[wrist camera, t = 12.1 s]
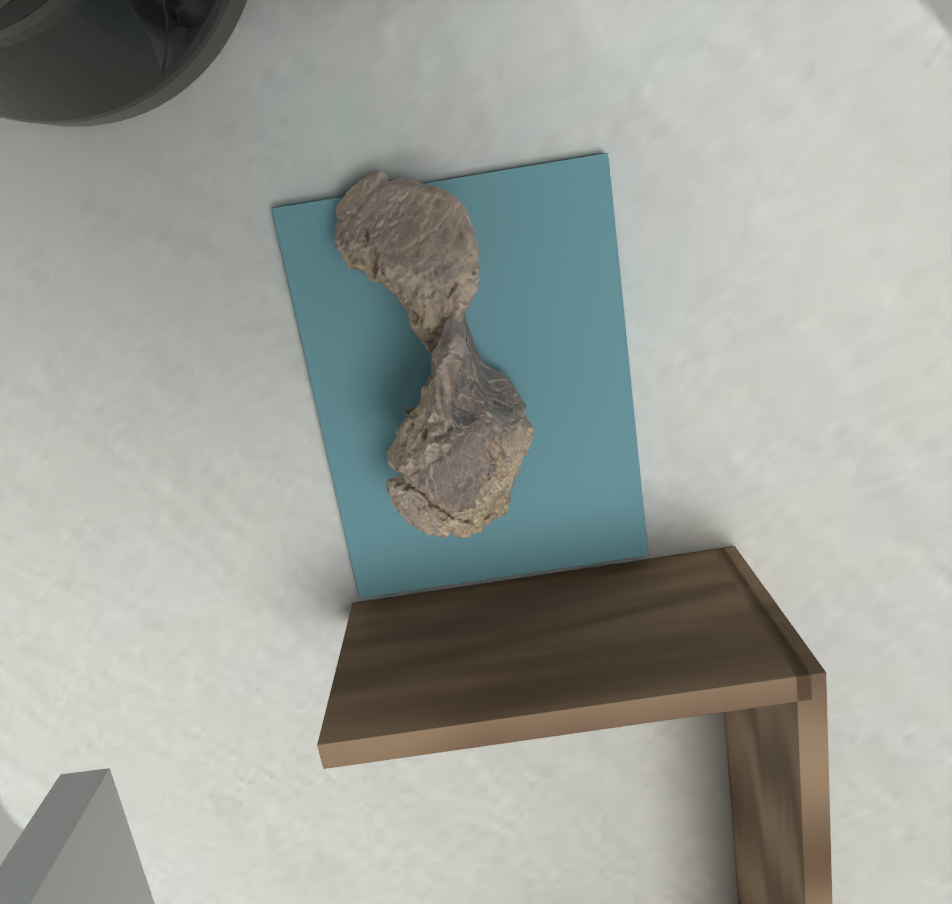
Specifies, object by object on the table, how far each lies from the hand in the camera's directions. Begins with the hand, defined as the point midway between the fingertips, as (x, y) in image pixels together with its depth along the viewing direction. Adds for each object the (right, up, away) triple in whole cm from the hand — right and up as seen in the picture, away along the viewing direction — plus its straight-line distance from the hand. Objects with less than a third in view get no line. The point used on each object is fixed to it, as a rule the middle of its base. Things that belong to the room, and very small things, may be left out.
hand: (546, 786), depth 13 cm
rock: (-3, +9, +22) cm, 24 cm away
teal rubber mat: (-1, +8, +23) cm, 24 cm away
